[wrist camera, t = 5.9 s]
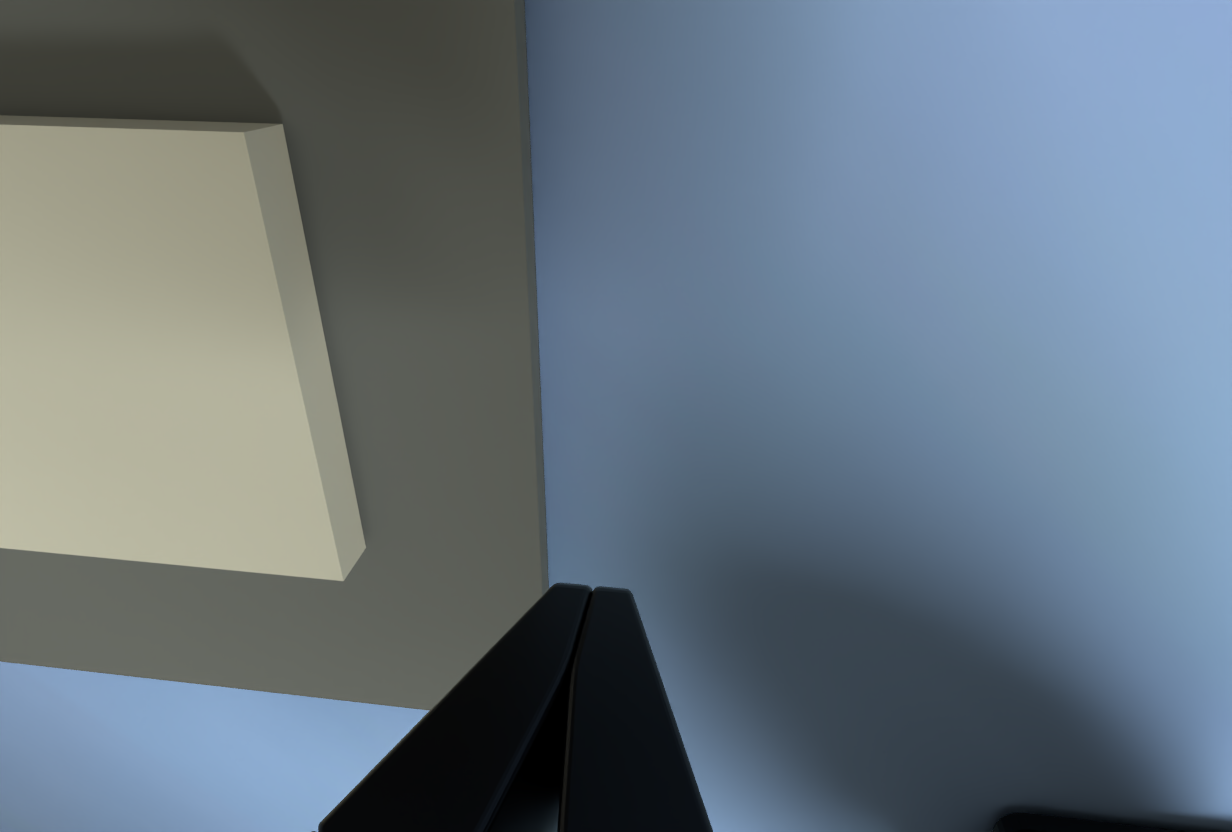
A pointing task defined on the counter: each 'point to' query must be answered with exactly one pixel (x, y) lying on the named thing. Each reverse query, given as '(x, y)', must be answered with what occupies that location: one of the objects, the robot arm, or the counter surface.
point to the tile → (165, 352)
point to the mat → (335, 335)
